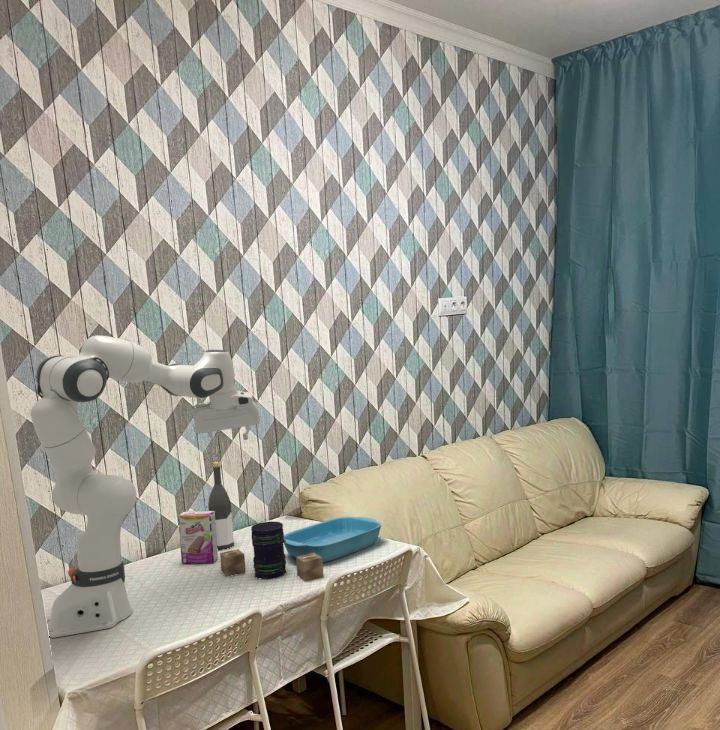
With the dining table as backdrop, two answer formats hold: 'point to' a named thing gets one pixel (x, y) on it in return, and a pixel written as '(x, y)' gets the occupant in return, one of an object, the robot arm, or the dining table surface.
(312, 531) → the casserole dish
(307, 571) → the walnut block one
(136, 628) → the dining table surface
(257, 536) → the dark blue rusty barrel
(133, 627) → the dining table surface
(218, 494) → the wine bottle
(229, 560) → the walnut block seven
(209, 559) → the candy bar box
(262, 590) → the dining table surface
